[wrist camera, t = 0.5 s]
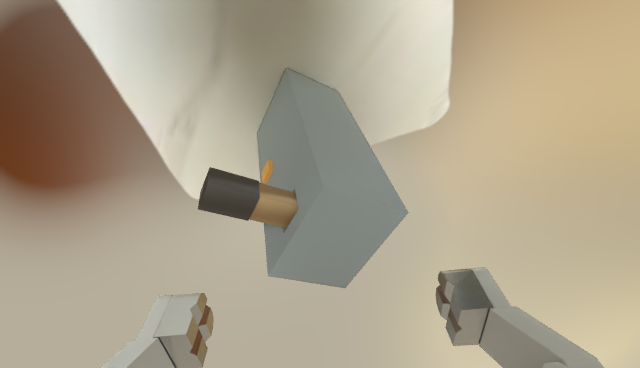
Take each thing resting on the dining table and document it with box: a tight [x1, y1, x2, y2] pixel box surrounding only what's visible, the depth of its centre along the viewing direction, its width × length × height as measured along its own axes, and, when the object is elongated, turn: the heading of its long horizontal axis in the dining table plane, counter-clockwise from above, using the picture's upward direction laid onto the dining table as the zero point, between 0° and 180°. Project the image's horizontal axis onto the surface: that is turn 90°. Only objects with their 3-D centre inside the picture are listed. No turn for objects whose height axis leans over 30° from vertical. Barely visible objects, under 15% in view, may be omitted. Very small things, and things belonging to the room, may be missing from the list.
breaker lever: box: [198, 167, 299, 228], centre depth 35 cm, size 3×16×3 cm, turn 62°
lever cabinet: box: [257, 68, 408, 288], centre depth 46 cm, size 13×11×31 cm
